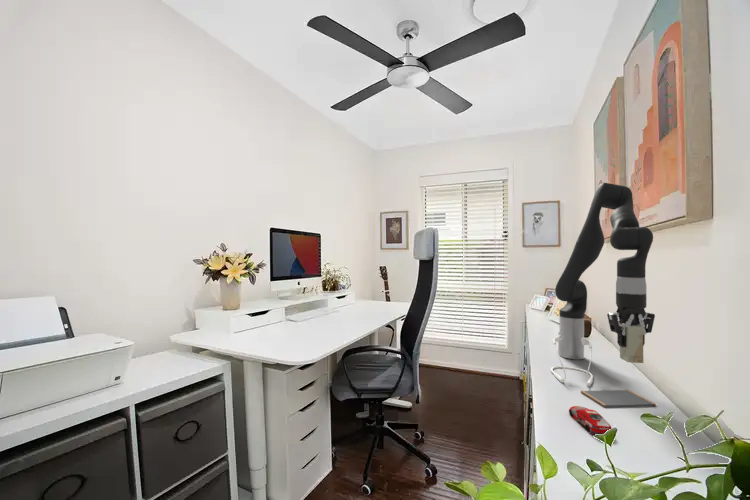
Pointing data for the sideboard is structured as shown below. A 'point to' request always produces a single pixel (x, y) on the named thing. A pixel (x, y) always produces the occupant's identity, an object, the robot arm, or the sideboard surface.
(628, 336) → the box
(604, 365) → the sideboard surface
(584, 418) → the race car
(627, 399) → the mat
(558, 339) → the earphone
